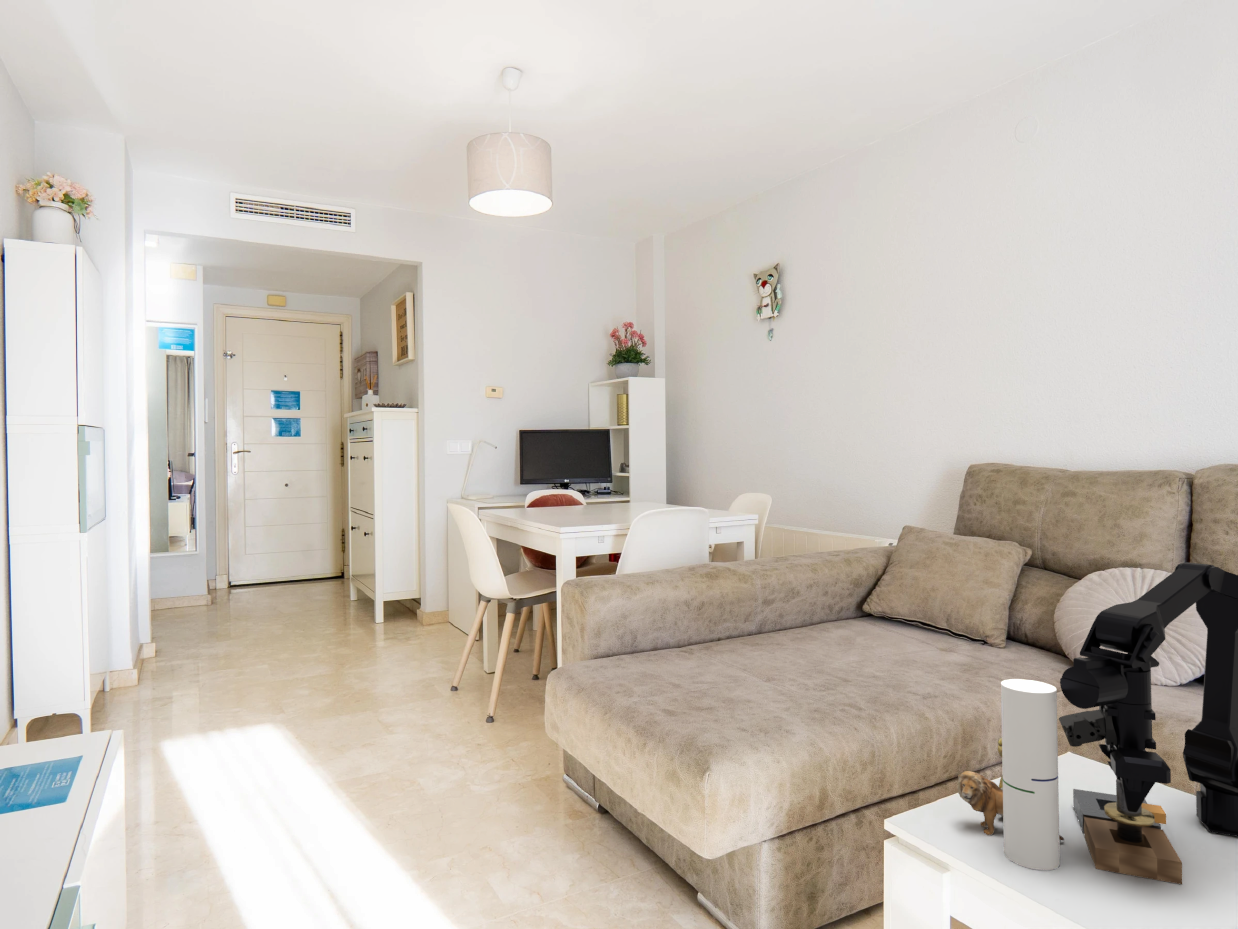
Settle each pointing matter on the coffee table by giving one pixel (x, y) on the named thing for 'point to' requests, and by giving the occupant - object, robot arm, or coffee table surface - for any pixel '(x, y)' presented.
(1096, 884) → the coffee table surface
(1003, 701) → the cylindrical container
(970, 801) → the lion figurine
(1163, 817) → the cardboard box
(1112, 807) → the dark flanged cylinder
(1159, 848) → the rack block
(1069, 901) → the coffee table surface
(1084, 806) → the socket block
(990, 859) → the coffee table surface
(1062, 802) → the coffee table surface
